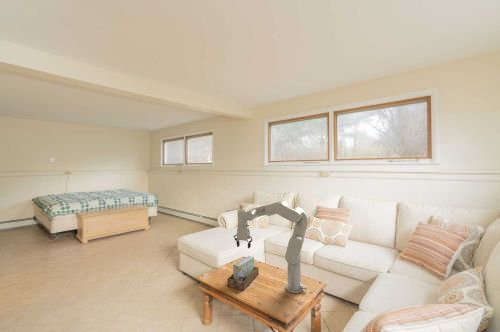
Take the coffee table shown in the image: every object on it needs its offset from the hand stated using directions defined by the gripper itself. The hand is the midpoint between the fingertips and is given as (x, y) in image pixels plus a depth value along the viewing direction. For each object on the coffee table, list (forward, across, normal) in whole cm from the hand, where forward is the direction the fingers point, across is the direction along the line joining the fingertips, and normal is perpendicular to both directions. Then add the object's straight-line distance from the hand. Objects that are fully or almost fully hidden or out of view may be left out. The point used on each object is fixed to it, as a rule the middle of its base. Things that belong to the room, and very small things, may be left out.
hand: (243, 247), depth 186 cm
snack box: (+26, +1, 0) cm, 26 cm away
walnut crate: (+27, +1, 0) cm, 27 cm away
